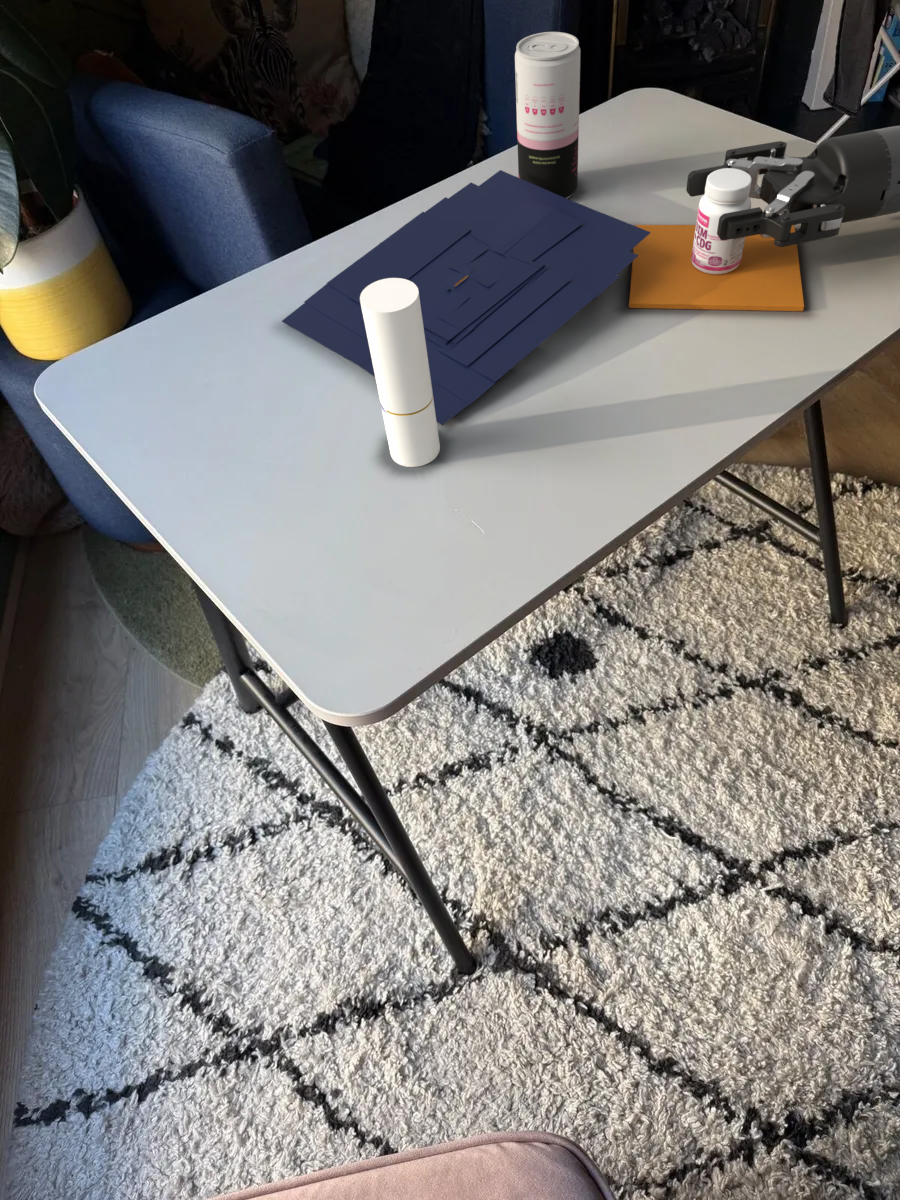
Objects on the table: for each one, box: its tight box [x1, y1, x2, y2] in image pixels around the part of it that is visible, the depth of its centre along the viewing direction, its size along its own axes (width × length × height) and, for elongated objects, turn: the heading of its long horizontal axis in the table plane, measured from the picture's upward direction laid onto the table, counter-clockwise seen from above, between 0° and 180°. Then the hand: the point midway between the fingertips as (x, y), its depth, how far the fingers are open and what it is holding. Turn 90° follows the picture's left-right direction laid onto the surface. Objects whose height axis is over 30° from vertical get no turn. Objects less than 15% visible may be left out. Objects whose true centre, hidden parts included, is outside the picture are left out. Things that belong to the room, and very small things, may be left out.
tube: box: [360, 278, 441, 468], centre depth 69 cm, size 4×4×15 cm
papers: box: [281, 169, 651, 426], centre depth 86 cm, size 24×30×4 cm
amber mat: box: [628, 224, 805, 312], centre depth 87 cm, size 16×14×1 cm
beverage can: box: [514, 31, 581, 199], centre depth 93 cm, size 6×6×15 cm
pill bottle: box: [691, 168, 752, 275], centre depth 83 cm, size 5×5×8 cm
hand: (703, 205), depth 81 cm, fingers open, 7 cm apart
